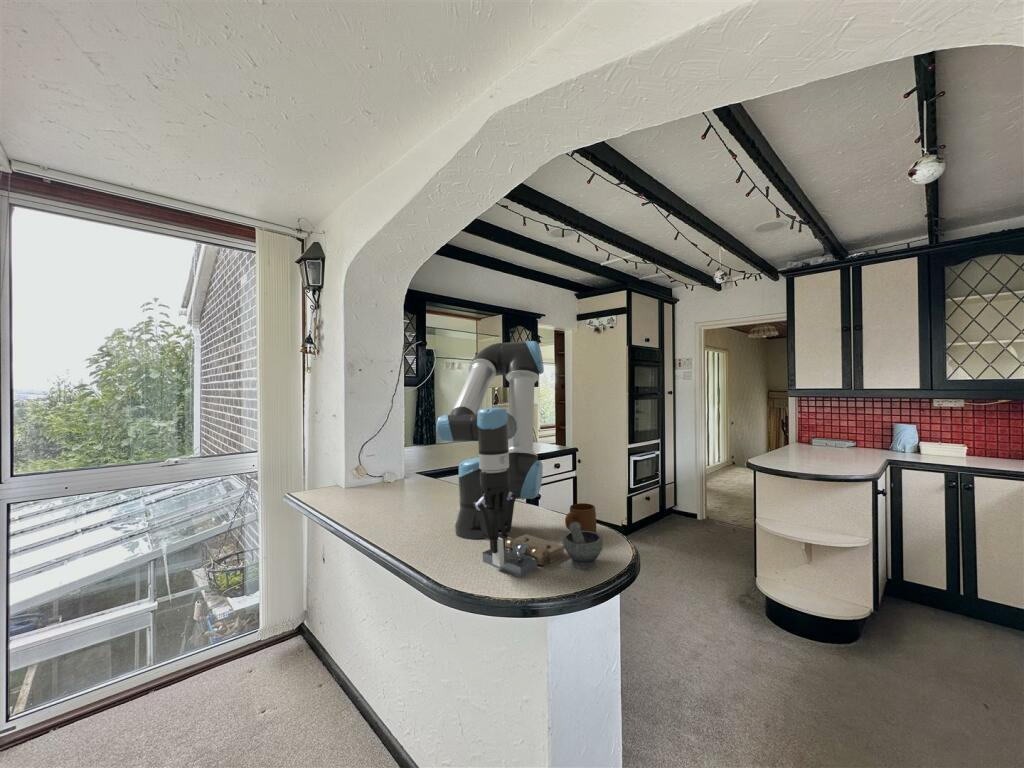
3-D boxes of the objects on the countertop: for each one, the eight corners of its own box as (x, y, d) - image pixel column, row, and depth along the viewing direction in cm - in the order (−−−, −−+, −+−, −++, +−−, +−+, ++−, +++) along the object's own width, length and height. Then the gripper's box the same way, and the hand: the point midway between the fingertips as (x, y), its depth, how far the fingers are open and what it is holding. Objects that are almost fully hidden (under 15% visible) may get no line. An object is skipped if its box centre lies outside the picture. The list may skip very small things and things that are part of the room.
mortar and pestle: (573, 554, 110) (571, 509, 110) (607, 560, 105) (605, 513, 105) (556, 571, 100) (554, 522, 100) (594, 578, 95) (591, 527, 95)
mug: (578, 550, 112) (577, 516, 112) (556, 544, 117) (555, 511, 117) (601, 537, 121) (600, 505, 121) (580, 532, 126) (578, 501, 126)
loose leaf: (482, 561, 107) (482, 546, 107) (510, 549, 114) (509, 535, 114) (521, 577, 97) (520, 561, 97) (548, 563, 104) (547, 548, 104)
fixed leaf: (501, 553, 112) (500, 538, 112) (526, 542, 119) (525, 529, 119) (539, 567, 102) (538, 551, 102) (564, 555, 109) (563, 540, 109)
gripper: (484, 476, 95) (488, 578, 95) (523, 467, 104) (527, 560, 104) (464, 472, 100) (468, 568, 100) (503, 464, 110) (506, 552, 109)
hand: (498, 564), depth 102 cm, fingers closed
